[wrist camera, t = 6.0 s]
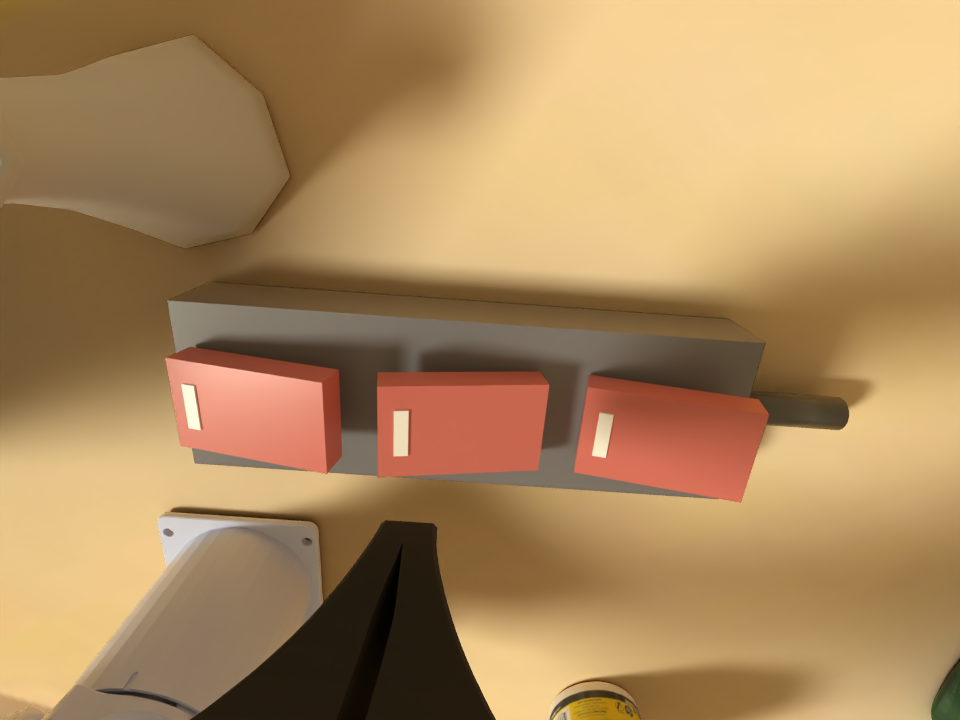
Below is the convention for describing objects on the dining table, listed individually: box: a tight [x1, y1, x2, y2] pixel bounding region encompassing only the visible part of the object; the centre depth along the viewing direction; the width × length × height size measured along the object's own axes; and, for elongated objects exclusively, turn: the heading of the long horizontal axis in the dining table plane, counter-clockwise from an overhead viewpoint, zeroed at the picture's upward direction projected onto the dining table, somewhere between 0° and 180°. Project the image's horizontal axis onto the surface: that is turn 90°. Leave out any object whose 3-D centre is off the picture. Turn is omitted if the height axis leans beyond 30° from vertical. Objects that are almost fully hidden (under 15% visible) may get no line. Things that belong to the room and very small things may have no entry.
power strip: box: [167, 282, 849, 499], centre depth 21 cm, size 7×27×3 cm, turn 86°
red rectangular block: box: [574, 375, 769, 502], centre depth 18 cm, size 4×6×1 cm, turn 86°
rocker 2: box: [377, 371, 549, 477], centre depth 18 cm, size 4×6×1 cm, turn 86°
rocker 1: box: [165, 347, 342, 474], centre depth 18 cm, size 4×6×1 cm, turn 86°
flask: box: [0, 34, 290, 248], centre depth 15 cm, size 7×7×10 cm
